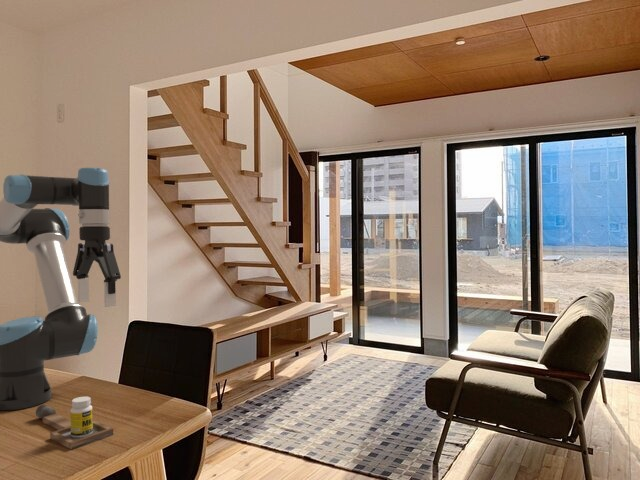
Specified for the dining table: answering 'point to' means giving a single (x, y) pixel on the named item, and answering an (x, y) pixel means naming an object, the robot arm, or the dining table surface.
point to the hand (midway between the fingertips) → (96, 304)
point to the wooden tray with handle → (64, 429)
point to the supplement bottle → (81, 417)
